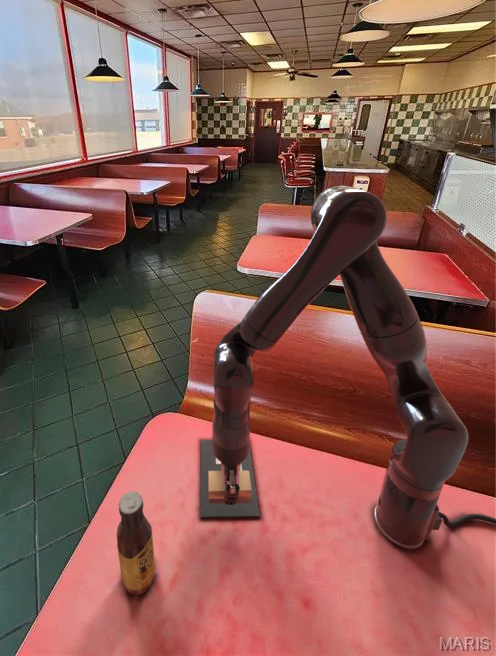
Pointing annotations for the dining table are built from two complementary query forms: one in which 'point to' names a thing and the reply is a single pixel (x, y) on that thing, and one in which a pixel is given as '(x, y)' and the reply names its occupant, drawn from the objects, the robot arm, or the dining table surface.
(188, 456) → the dining table surface
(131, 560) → the sauce bottle
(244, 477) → the eraser
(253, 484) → the slate board
